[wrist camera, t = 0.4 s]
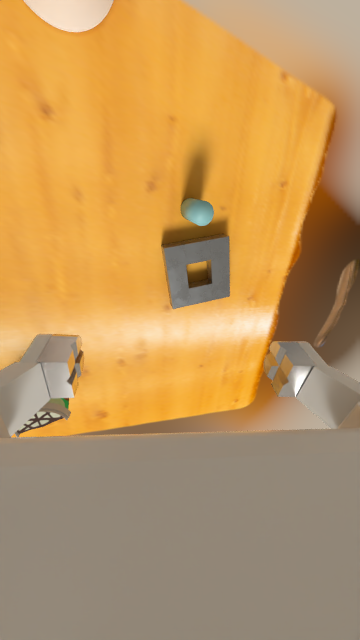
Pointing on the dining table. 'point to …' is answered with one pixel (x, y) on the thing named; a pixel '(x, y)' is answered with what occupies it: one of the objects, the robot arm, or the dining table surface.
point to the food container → (47, 414)
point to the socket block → (193, 252)
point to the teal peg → (197, 211)
